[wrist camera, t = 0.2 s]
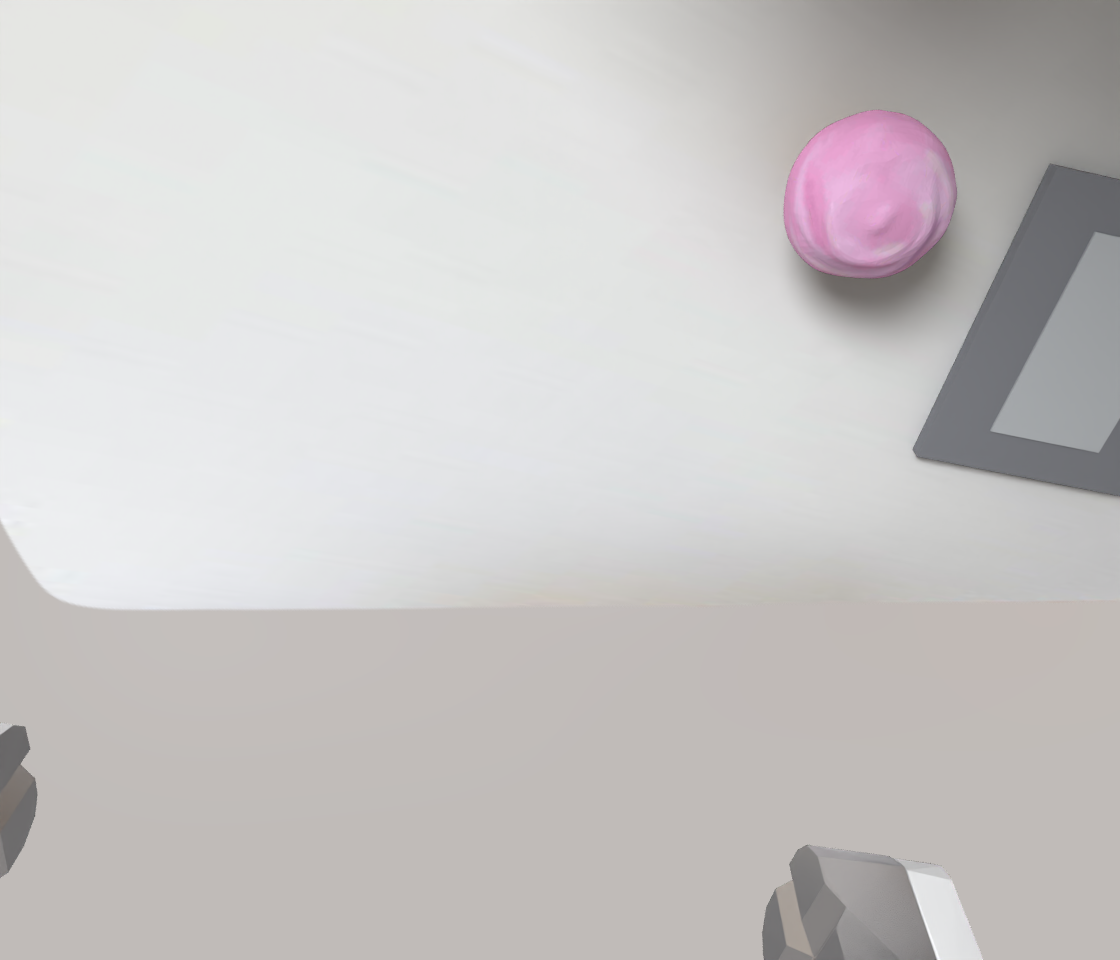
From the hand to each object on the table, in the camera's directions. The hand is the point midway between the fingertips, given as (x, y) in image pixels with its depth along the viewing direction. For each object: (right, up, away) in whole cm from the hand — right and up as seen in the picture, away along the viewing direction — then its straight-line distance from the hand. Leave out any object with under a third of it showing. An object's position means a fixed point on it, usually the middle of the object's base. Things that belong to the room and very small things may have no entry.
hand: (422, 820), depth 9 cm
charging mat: (+36, +13, +49) cm, 62 cm away
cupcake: (+18, +22, +44) cm, 52 cm away
